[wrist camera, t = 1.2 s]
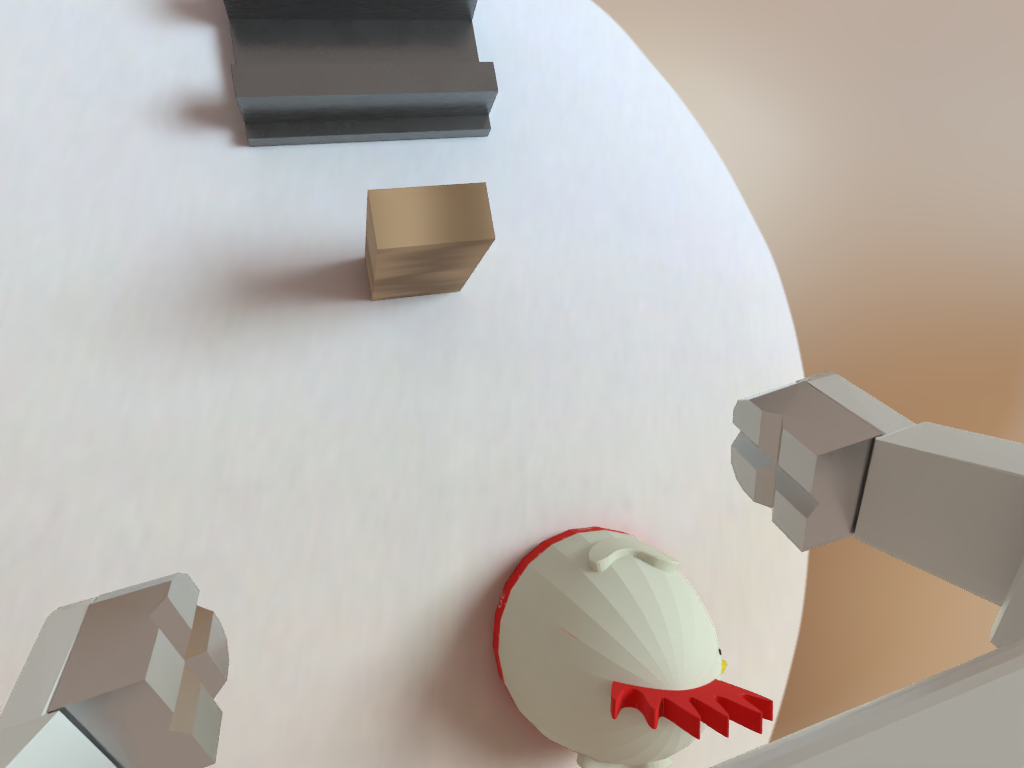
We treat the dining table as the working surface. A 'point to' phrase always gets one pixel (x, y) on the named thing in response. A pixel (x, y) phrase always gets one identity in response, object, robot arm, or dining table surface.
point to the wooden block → (425, 238)
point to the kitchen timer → (614, 652)
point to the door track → (358, 70)
